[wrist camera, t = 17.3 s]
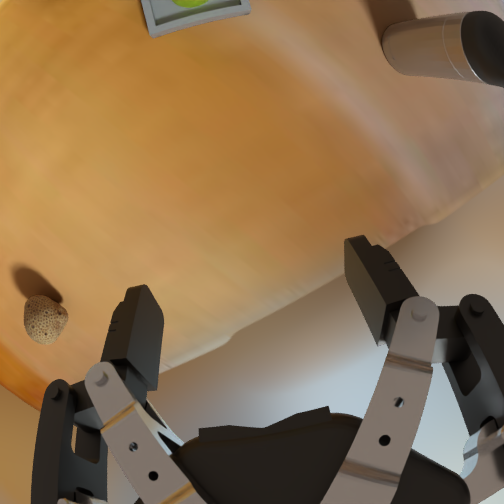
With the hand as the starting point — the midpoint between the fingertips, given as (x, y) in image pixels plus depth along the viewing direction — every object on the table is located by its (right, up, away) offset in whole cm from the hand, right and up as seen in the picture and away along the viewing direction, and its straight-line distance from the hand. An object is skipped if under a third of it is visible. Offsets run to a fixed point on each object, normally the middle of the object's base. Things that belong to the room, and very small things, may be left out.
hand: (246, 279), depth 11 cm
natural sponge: (-39, -9, +37) cm, 54 cm away
